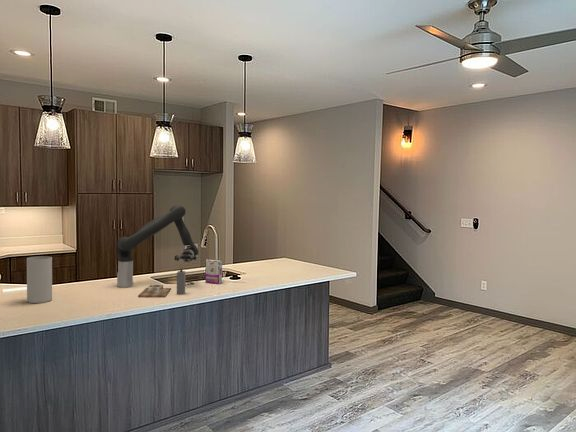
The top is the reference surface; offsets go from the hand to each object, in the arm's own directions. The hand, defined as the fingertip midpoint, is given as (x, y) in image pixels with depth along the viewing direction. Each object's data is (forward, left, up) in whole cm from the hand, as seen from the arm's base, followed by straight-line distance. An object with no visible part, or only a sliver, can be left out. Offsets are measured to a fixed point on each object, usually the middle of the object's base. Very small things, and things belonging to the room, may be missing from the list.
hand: (184, 259), depth 280 cm
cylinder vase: (-77, -30, -20) cm, 85 cm away
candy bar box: (+18, +21, -20) cm, 34 cm away
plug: (0, -11, -20) cm, 23 cm away
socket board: (-16, -11, -20) cm, 28 cm away
